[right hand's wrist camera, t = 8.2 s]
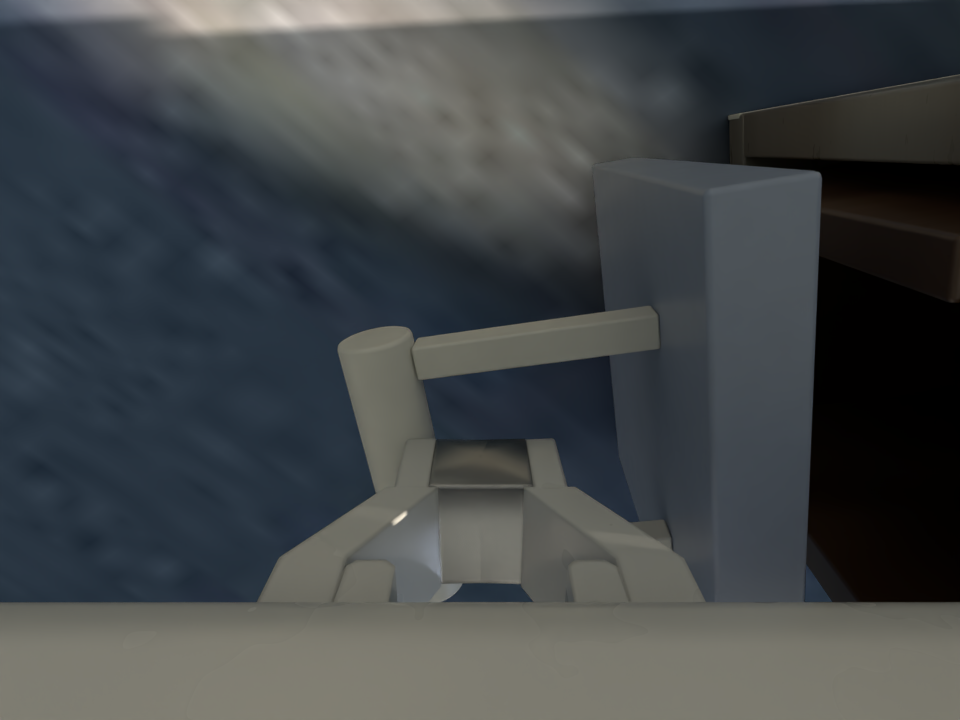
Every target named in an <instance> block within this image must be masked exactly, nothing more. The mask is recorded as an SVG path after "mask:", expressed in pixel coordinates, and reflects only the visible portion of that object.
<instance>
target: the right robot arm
mask: <svg viewBox="0 0 960 720" xmlns="http://www.w3.org/2000/svg"><path fill="white" fill-rule="evenodd" d="M456 583H505V584H521V587H522V588H523V589H524V591H525V592H526V593H527V594H528V596H529V597H530V598H531V599H532V601H533V602H429V601H430V600H431V598H432V597H433V596H434V595H435V593H436V592H437V591H438V590H439V589H440V587H441V584H456ZM0 720H960V602H706V601H705V599H704V597H703V595H702V593H701V591H700V589H699V587H698V585H697V583H696V581H695V579H694V577H693V575H692V573H691V571H690V569H689V567H688V565H687V563H686V561H685V559H684V558H683V557H681V556H680V555H678V554H677V553H675V552H674V551H672V550H671V549H669V548H668V547H666V546H665V545H663V544H662V543H660V542H659V541H657V540H656V539H654V538H652V537H651V536H649V535H648V534H646V533H645V532H643V531H642V530H640V529H639V528H637V527H636V526H634V525H633V524H631V523H630V522H628V521H627V520H625V519H624V518H622V517H621V516H619V515H618V514H616V513H614V512H613V511H611V510H610V509H608V508H607V507H605V506H604V505H602V504H601V503H599V502H598V501H596V500H595V499H593V498H592V497H590V496H589V495H587V494H586V493H584V492H583V491H581V490H579V489H578V488H576V487H567V483H566V479H565V475H564V472H563V468H562V464H561V460H560V457H559V453H558V449H557V445H556V442H555V440H554V439H553V438H547V439H526V440H525V439H497V440H462V439H437V440H435V438H429V439H408V440H407V441H406V443H405V447H404V451H403V455H402V459H401V463H400V467H399V471H398V474H397V478H396V482H395V486H394V487H385V488H384V489H382V490H381V491H379V492H378V493H376V494H375V495H373V496H372V497H370V498H369V499H367V500H366V501H364V502H363V503H361V504H360V505H358V506H357V507H355V508H354V509H352V510H350V511H349V512H347V513H346V514H344V515H343V516H341V517H340V518H338V519H337V520H335V521H334V522H332V523H331V524H329V525H328V526H326V527H325V528H323V529H322V530H320V531H319V532H317V533H315V534H314V535H312V536H311V537H309V538H308V539H306V540H305V541H303V542H302V543H300V544H299V545H297V546H296V547H294V548H293V549H291V550H290V551H288V552H287V553H285V554H284V555H282V556H280V557H279V559H278V561H277V563H276V565H275V567H274V569H273V571H272V573H271V575H270V577H269V579H268V581H267V583H266V585H265V587H264V589H263V591H262V593H261V594H260V596H259V598H258V600H257V602H0Z"/></svg>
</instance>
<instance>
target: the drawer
mask: <svg viewBox="0 0 960 720" xmlns="http://www.w3.org/2000/svg"><path fill="white" fill-rule="evenodd" d="M592 173H593V184H594V194H595V205H596V216H597V227H598V237H599V248H600V259H601V270H602V281H603V291H604V302H605V312H600V313H593V314H586V315H578V316H571V317H564V318H557V319H550V320H543V321H536V322H528V323H521V324H514V325H507V326H500V327H493V328H485V329H478V330H471V331H464V332H457V333H450V334H443V335H435V336H428V337H421V338H418V339H417V340H416V342H415V343H414V338H413V333H412V332H411V330H410V329H409V328H406V327H401V326H387V327H379V328H374V329H370V330H366V331H362V332H359V333H357V334H354V335H352V336H350V337H348V338H346V339H345V340H343V341H342V342H340V343H339V345H338V349H337V350H338V355H339V358H340V362H341V366H342V369H343V373H344V377H345V381H346V384H347V388H348V392H349V395H350V399H351V403H352V407H353V410H354V414H355V418H356V421H357V425H358V429H359V433H360V436H361V440H362V444H363V447H364V451H365V455H366V458H367V462H368V466H369V470H370V473H371V477H372V481H373V484H374V488H375V492H376V493H378V492H379V491H381V490H382V489H384V488H385V487H394V486H395V482H396V478H397V474H398V471H399V467H400V463H401V459H402V455H403V451H404V447H405V443H406V441H407V440H408V439H429V438H435V434H434V430H433V425H432V420H431V416H430V411H429V407H428V402H427V398H426V393H425V388H424V384H423V380H425V379H433V378H441V377H448V376H456V375H464V374H471V373H479V372H487V371H494V370H502V369H510V368H517V367H525V366H533V365H540V364H548V363H556V362H563V361H571V360H579V359H586V358H594V357H602V356H610V367H611V378H612V388H613V399H614V410H615V421H616V432H617V442H618V453H619V459H620V462H621V465H622V468H623V472H624V475H625V478H626V481H627V484H628V487H629V490H630V493H631V496H632V500H633V503H634V506H635V509H636V512H637V515H638V518H639V521H640V522H630V523H631V524H633V525H634V526H636V527H637V528H639V529H640V530H642V531H643V532H645V533H646V534H648V535H649V536H651V537H652V538H654V539H656V540H657V541H659V542H660V543H662V544H663V545H665V546H666V547H668V548H669V549H671V550H672V551H674V552H675V553H677V554H678V555H680V556H681V557H683V558H684V559H685V561H686V563H687V565H688V567H689V569H690V571H691V573H692V575H693V577H694V579H695V581H696V583H697V585H698V587H699V589H700V591H701V593H702V595H703V597H704V599H705V601H706V602H805V578H806V564H807V566H808V567H809V569H810V570H811V571H812V573H813V574H814V576H815V577H816V579H817V580H818V582H819V583H820V585H821V586H822V587H823V589H824V590H825V592H826V593H827V595H828V596H829V598H830V599H831V600H832V602H960V165H939V164H913V163H886V162H860V161H853V162H847V163H841V164H835V165H829V166H823V167H817V168H811V169H804V170H797V169H784V168H770V167H757V166H744V165H731V164H718V163H704V162H691V161H678V160H665V159H652V158H639V157H633V158H627V159H621V160H615V161H609V162H604V163H598V164H594V165H593V166H592ZM435 440H436V439H435ZM461 585H462V583H456V584H441V587H440V589H439V590H438V591H437V592H436V593H435V595H434V596H433V597H432V598H431V600H430V601H429V602H442V601H444V600H446V599H448V598H450V597H451V596H453V595H454V594H455V593H456V592H457V591H458V590H459V589H460V587H461Z"/></svg>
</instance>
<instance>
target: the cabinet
mask: <svg viewBox="0 0 960 720" xmlns="http://www.w3.org/2000/svg"><path fill="white" fill-rule="evenodd" d="M728 120H729V133H730V164H731V165H744V166H757V167H770V168H784V169H797V170H804V169H811V168H817V167H823V166H829V165H835V164H841V163H847V162H853V161H860V162H886V163H913V164H939V165H960V74H959V75H954V76H948V77H942V78H937V79H931V80H925V81H920V82H914V83H908V84H903V85H897V86H891V87H886V88H880V89H874V90H869V91H863V92H857V93H852V94H846V95H841V96H835V97H829V98H824V99H818V100H812V101H807V102H801V103H795V104H790V105H784V106H778V107H773V108H767V109H761V110H756V111H750V112H744V113H739V114H733V115H728Z"/></svg>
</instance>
